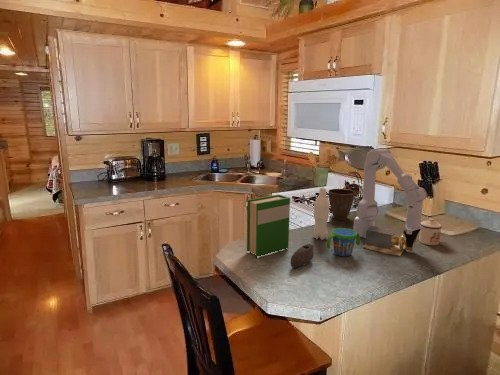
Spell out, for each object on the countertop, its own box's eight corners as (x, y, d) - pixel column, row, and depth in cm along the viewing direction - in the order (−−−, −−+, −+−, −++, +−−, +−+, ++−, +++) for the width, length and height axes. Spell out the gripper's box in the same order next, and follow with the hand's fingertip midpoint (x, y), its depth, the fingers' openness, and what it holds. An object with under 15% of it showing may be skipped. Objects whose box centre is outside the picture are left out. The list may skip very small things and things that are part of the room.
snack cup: (353, 247, 157) (354, 226, 155) (365, 257, 147) (367, 234, 145) (321, 250, 154) (322, 228, 152) (331, 260, 144) (332, 237, 142)
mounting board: (362, 247, 158) (362, 246, 157) (371, 238, 169) (371, 237, 169) (400, 256, 149) (400, 254, 149) (406, 246, 160) (407, 245, 160)
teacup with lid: (432, 247, 159) (435, 223, 156) (414, 241, 166) (416, 217, 164) (446, 242, 165) (450, 219, 162) (428, 236, 173) (431, 214, 170)
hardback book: (257, 258, 145) (257, 203, 140) (246, 253, 151) (247, 199, 145) (288, 249, 155) (290, 197, 150) (277, 244, 161) (278, 194, 156)
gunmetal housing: (365, 244, 160) (366, 229, 159) (369, 239, 166) (371, 225, 164) (390, 249, 154) (391, 234, 153) (393, 244, 160) (395, 230, 158)
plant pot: (321, 216, 204) (323, 189, 201) (341, 213, 211) (342, 187, 207) (338, 223, 191) (340, 195, 188) (358, 219, 198) (360, 192, 195)
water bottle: (311, 239, 167) (313, 189, 162) (314, 234, 174) (316, 186, 168) (326, 241, 165) (329, 190, 159) (328, 236, 171) (331, 187, 166)
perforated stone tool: (296, 272, 133) (296, 255, 132) (285, 268, 137) (285, 251, 135) (316, 260, 144) (317, 244, 143) (306, 256, 148) (306, 241, 146)
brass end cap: (376, 245, 158) (377, 229, 156) (379, 241, 163) (381, 226, 161) (411, 253, 149) (413, 237, 148) (414, 248, 154) (416, 232, 153)
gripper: (421, 221, 141) (417, 252, 144) (426, 213, 153) (423, 242, 156) (402, 218, 145) (399, 248, 148) (409, 210, 157) (406, 238, 160)
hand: (410, 245), depth 152 cm, fingers closed on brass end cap, 4 cm apart
